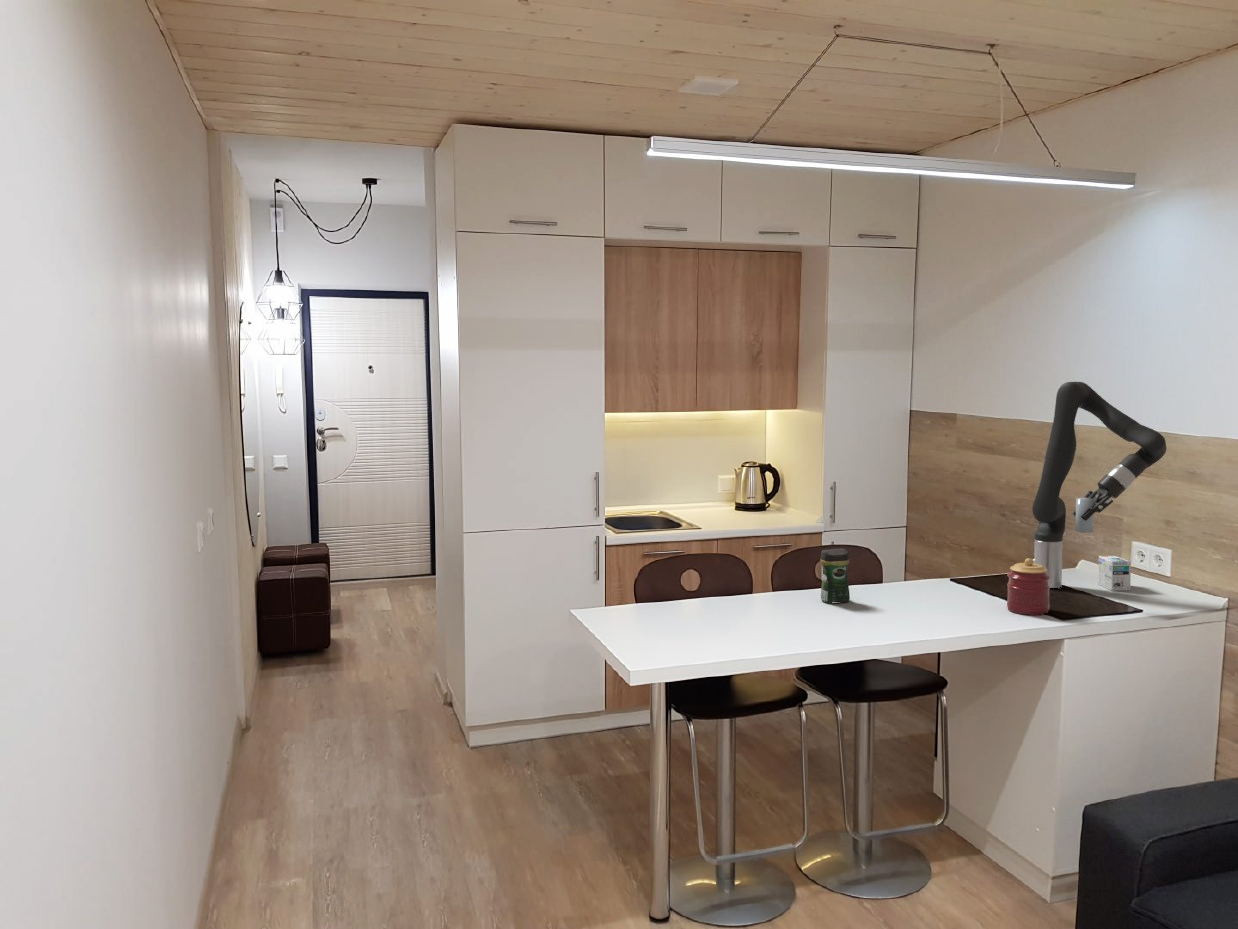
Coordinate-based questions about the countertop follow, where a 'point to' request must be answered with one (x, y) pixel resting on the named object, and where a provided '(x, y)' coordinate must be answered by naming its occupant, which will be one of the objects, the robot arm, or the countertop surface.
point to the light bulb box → (1114, 573)
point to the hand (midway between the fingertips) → (1079, 517)
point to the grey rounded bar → (1081, 507)
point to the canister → (1028, 588)
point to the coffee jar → (835, 575)
